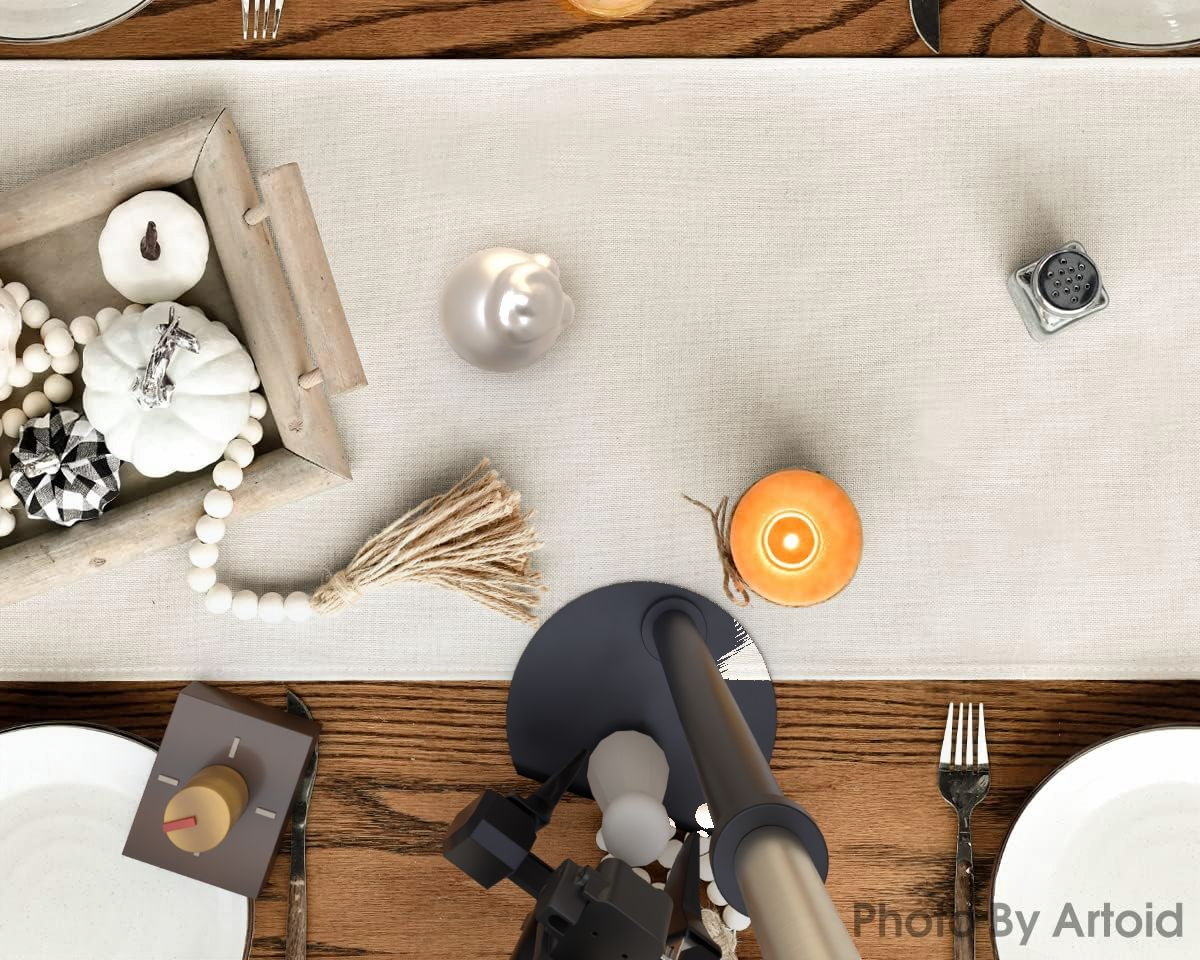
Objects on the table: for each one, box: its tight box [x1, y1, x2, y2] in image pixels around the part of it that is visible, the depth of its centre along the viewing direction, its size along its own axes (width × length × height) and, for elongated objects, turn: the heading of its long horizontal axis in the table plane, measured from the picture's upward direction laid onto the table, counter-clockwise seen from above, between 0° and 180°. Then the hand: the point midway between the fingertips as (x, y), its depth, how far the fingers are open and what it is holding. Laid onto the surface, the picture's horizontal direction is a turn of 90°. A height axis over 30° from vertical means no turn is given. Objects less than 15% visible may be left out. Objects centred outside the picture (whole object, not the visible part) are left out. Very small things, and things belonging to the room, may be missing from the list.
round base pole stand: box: [505, 580, 863, 960], centre depth 52 cm, size 20×20×50 cm
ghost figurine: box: [437, 246, 576, 374], centre depth 73 cm, size 9×10×10 cm
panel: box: [121, 680, 324, 901], centre depth 75 cm, size 12×10×3 cm
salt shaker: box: [587, 731, 672, 868], centre depth 70 cm, size 6×6×13 cm
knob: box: [163, 765, 248, 853], centre depth 71 cm, size 4×4×4 cm
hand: (638, 792), depth 69 cm, fingers open, 9 cm apart
